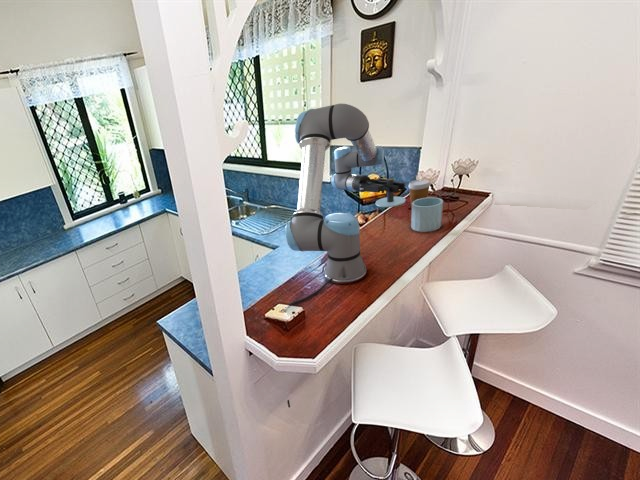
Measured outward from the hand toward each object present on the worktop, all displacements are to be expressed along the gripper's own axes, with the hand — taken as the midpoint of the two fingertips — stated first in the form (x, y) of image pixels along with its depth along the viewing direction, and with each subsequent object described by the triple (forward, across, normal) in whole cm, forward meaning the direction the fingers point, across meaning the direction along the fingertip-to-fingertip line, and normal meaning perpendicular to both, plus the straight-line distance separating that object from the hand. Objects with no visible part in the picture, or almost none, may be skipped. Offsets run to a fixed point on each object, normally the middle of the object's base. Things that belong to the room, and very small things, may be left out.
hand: (401, 187), depth 145 cm
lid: (-5, 0, -7) cm, 9 cm away
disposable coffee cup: (-13, -28, -19) cm, 36 cm away
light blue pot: (+6, -8, -19) cm, 22 cm away
